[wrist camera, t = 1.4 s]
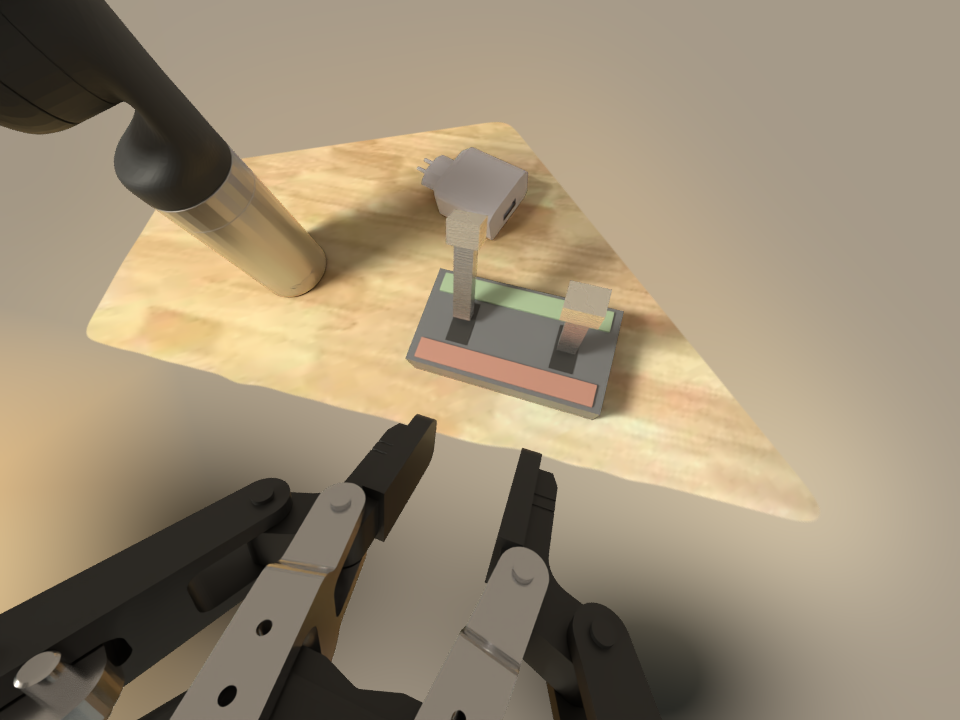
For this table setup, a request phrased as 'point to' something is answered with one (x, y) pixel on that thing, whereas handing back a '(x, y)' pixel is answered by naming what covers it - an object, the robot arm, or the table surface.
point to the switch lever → (581, 313)
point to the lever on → (465, 257)
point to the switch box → (515, 346)
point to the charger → (476, 186)
